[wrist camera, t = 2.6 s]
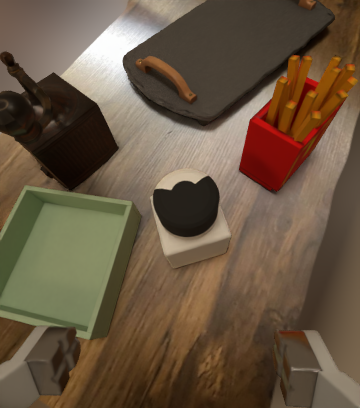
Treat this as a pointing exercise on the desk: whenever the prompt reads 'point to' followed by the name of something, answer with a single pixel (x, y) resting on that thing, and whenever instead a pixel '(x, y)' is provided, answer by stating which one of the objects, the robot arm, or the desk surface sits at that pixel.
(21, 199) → the bin
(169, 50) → the serving tray
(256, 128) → the french fries container
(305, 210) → the desk surface
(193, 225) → the medicine bottle
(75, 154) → the pepper mill
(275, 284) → the desk surface
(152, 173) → the desk surface
